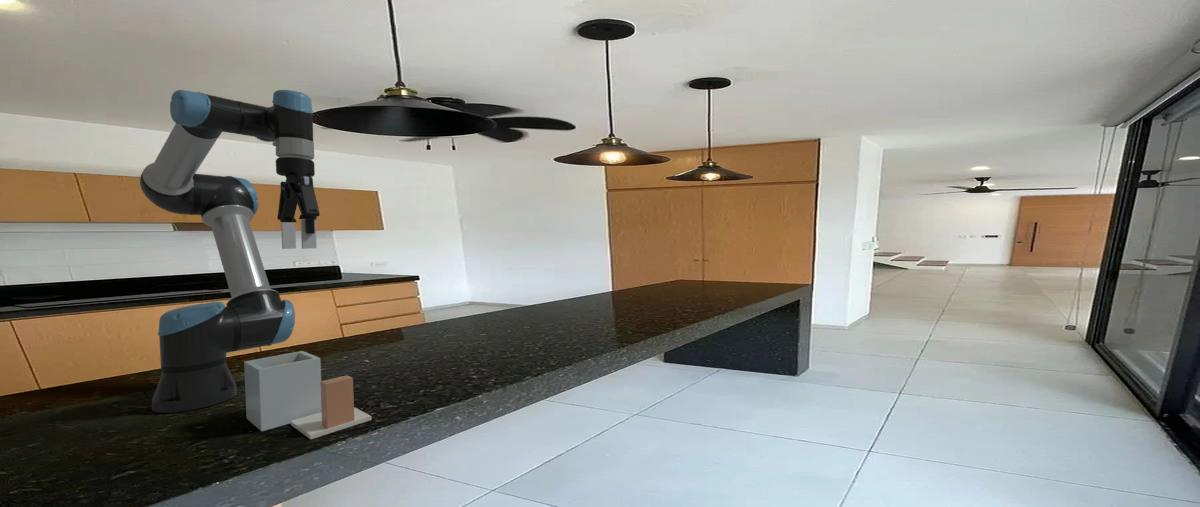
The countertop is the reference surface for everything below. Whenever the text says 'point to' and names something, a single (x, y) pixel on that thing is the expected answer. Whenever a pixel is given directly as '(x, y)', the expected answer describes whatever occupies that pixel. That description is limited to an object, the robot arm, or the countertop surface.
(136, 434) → the countertop surface
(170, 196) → the robot arm
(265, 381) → the tub
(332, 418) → the lid
